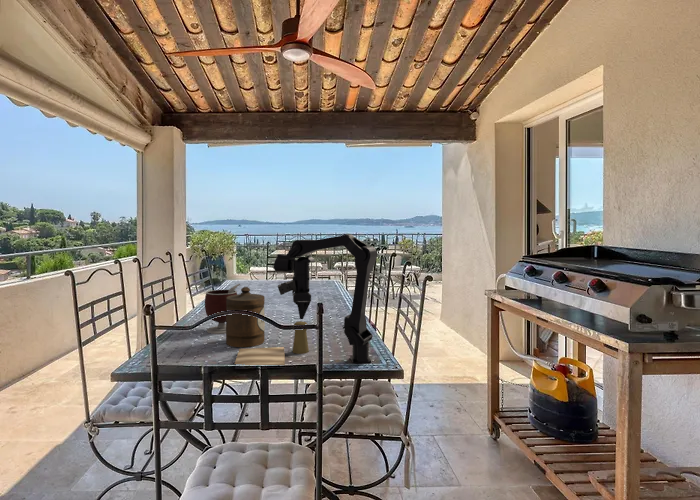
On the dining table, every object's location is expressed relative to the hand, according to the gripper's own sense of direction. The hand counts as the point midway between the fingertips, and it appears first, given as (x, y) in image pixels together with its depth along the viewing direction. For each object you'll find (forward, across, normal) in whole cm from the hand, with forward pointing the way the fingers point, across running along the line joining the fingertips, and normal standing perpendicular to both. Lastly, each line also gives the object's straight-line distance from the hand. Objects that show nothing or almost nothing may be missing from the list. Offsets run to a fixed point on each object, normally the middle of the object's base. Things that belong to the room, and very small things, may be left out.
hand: (300, 316), depth 153 cm
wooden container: (+14, -15, -21) cm, 29 cm away
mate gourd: (+14, -34, -32) cm, 49 cm away
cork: (+13, 0, 0) cm, 13 cm away
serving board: (+13, +8, -14) cm, 21 cm away
